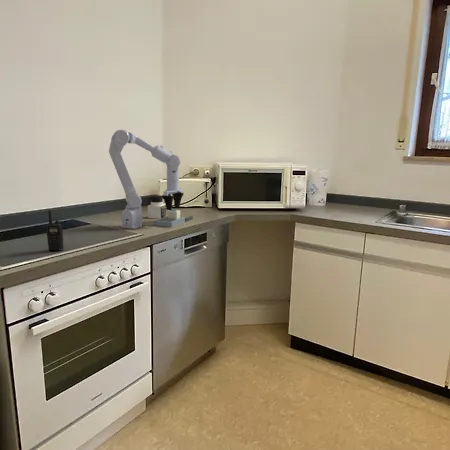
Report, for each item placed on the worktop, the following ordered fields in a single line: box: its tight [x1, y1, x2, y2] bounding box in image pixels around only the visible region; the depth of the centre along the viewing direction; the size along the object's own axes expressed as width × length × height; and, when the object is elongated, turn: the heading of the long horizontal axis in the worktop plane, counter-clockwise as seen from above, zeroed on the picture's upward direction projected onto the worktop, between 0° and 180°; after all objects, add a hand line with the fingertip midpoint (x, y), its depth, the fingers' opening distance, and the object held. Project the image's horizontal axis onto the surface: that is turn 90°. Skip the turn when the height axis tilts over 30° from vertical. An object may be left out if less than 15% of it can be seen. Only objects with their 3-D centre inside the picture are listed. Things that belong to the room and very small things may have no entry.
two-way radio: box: [45, 209, 64, 251], centre depth 144 cm, size 6×4×15 cm
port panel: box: [154, 215, 186, 229], centre depth 188 cm, size 13×9×3 cm
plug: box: [166, 208, 181, 219], centre depth 190 cm, size 4×5×7 cm
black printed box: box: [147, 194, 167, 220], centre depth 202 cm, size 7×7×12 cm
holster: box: [180, 214, 194, 222], centre depth 198 cm, size 7×8×2 cm
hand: (173, 208), depth 190 cm, fingers open, 7 cm apart
